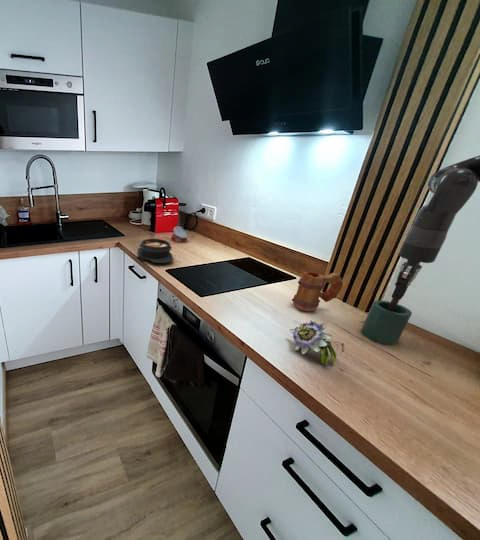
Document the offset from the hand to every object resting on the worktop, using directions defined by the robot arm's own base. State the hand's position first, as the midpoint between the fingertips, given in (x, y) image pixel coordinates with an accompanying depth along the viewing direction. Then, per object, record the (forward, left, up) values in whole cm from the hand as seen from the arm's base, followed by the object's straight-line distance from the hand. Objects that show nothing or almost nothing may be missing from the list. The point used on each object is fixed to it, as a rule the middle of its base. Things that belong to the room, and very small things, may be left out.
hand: (397, 296), depth 87 cm
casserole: (+74, -58, -15) cm, 95 cm away
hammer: (0, 0, -13) cm, 13 cm away
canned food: (+59, -93, -15) cm, 111 cm away
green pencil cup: (0, 0, -15) cm, 15 cm away
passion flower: (+26, +12, -15) cm, 32 cm away
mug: (+14, -15, -15) cm, 25 cm away
